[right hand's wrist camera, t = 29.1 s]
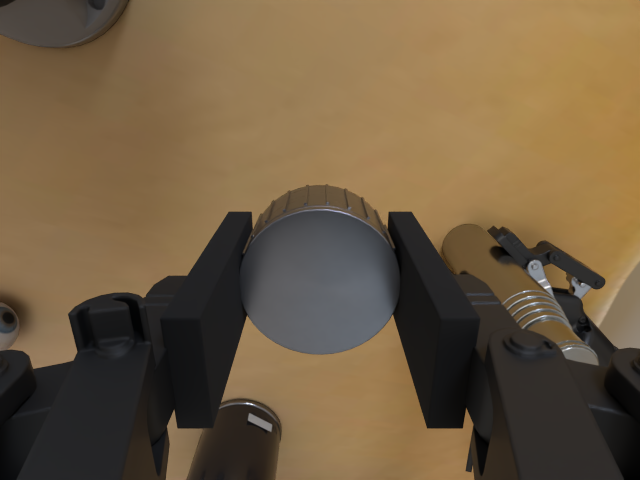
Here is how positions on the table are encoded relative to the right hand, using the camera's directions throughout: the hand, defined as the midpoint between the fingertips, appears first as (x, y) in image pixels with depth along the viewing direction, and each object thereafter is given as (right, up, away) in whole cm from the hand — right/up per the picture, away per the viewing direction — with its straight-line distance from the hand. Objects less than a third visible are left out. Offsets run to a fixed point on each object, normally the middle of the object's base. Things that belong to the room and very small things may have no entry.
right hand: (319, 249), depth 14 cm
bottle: (+15, 0, +29) cm, 32 cm away
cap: (0, -1, -2) cm, 2 cm away
